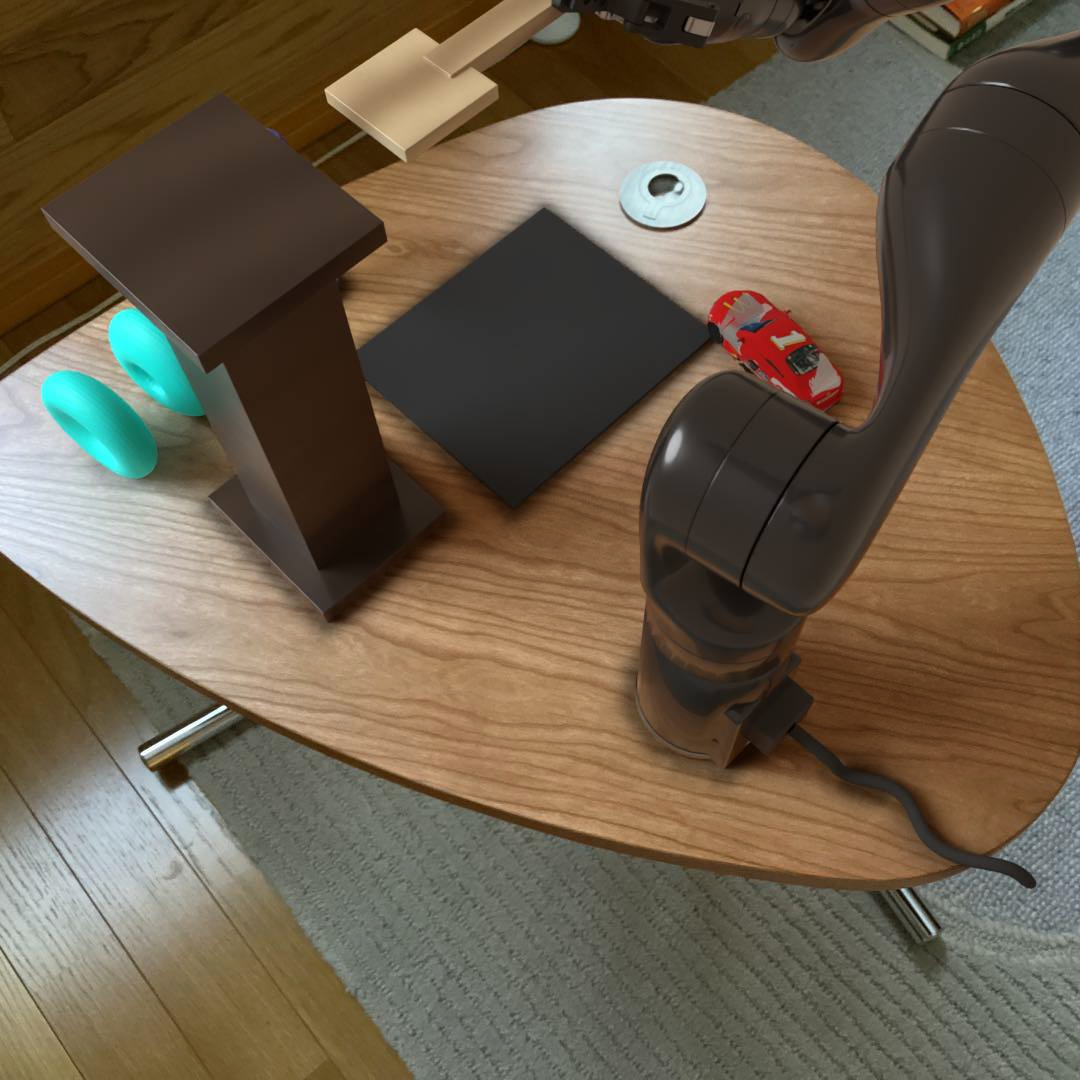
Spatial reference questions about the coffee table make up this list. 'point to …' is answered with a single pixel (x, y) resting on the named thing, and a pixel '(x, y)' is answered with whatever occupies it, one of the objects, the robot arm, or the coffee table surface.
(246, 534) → the stand
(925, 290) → the robot arm
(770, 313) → the race car
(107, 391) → the donuts
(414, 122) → the spatula
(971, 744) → the coffee table surface
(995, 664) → the coffee table surface
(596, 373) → the mat
